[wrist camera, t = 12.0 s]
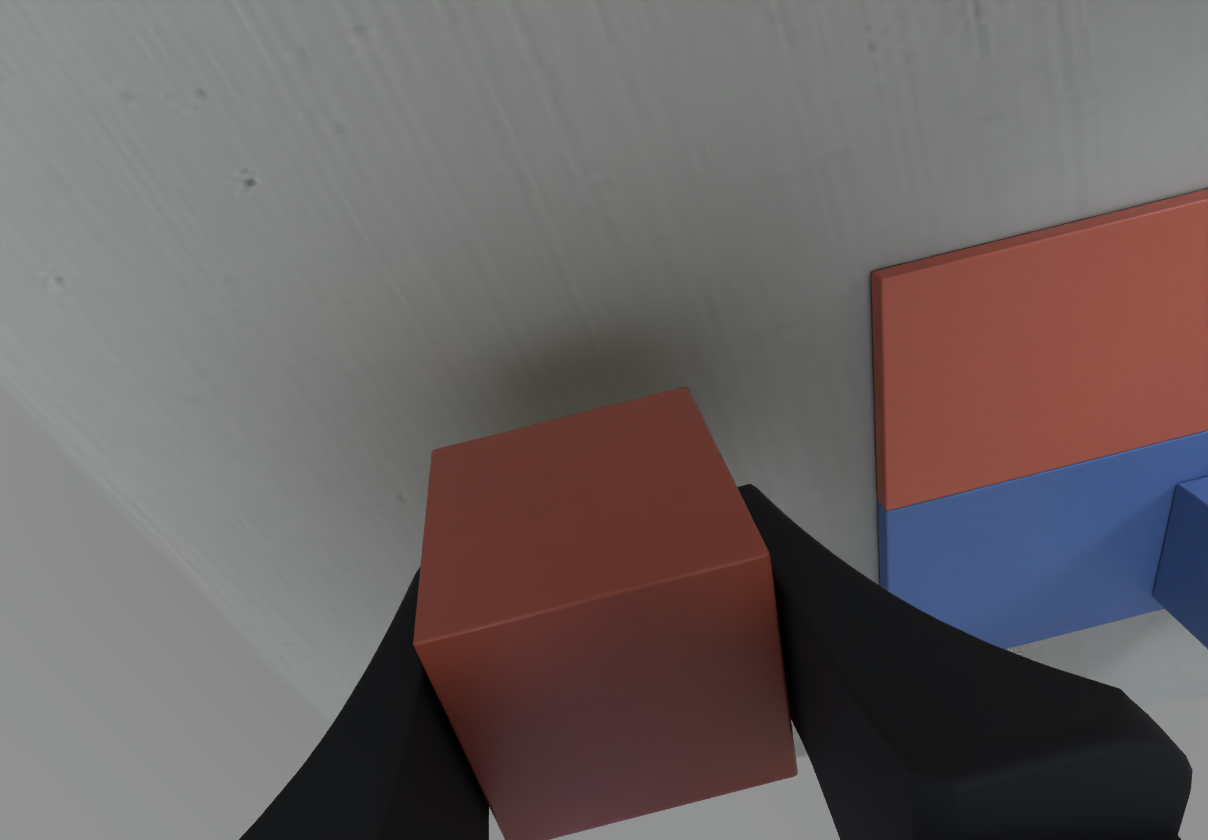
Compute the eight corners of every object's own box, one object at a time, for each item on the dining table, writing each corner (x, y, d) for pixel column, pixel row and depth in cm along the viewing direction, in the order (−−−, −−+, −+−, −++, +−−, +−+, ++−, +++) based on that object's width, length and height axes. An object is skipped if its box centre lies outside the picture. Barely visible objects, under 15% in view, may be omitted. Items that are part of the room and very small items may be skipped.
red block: (720, 578, 16) (799, 776, 12) (501, 633, 16) (508, 850, 12) (687, 385, 14) (771, 553, 10) (431, 449, 14) (411, 644, 10)
